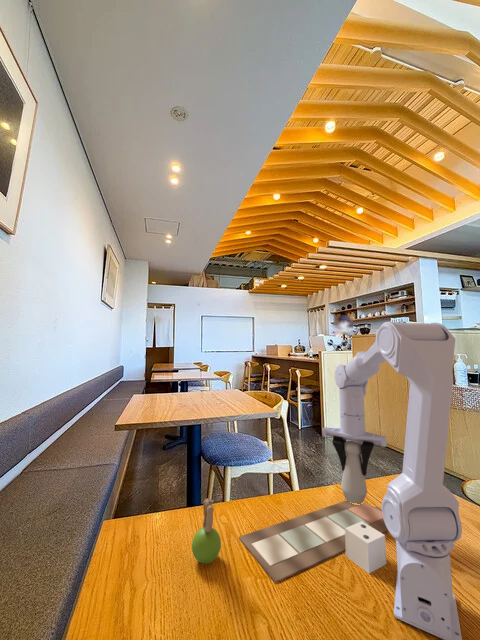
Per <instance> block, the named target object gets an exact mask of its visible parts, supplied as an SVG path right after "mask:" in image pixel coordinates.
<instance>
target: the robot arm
mask: <svg viewBox="0 0 480 640" xmlns="http://www.w3.org/2000/svg"><path fill="white" fill-rule="evenodd" d="M455 347H456V338H455V337H454V336H453V334H452V333H451V331H449V329H448V328H447V327H446V326H445V325H444V324H442V323H440V322H429V323H425V322H424V323H422V322H421V323H420V322H419V323H416V322H393V321H385V322H383V323H382V324H381V325H380V327H379V328H378V329H376V331H375V342H373V344H372V345H371V346H370V347H369V348H368V350H367V351H361V350H360V351H357V352H356V354H355V355H354V356H353V357H352V358H351V360H349V361H348V362H347V363H346V364H344V365H343V364H337V366H336V367H335V370H334V381H335V385H336V386H337V388H339V389H338V391H339V393H338V394H339V418H340V419H339V421H340V428H338V427H337V428H336V427H327V426H324V427H322V429H321V430H322V437H324V438H328V437H329V438H332V440H331V441H332V442H331V443H332V445H333V447H334V449H335V451H336V453H337V456H338V459H339V462H340V465H341V470H342V471H343V472H344V469H345V461H346V455H347V452H345V450H344V443H345V442H346V441H355V442H358V443H361V452H362V454H361V461H362V474H363V475H364V476H365V477H366V476H367V473H368V465H369V460H370V457H371V453H372V451H373V449H374V447H375V445H377V446H378V445H379V446H381V447H383V448H384V447H385V448H386V447H387V445H388V442H387V435H383V434H382V435H381V434H377V433H376V434H375V433H372V432H367V431H366V418H365V417H366V415H365V411H366V410H365V396H366V394H367V387H368V383H369V379H371V378H372V377H374V376H375V375H376V374H378V373H379V372H380V369H381V365H382V364H384V363H385V362H386V361H387V363H389V365H390V366H391V367H392V368H393V369H394V370H395V372H396V373H398V374H401V375H402V376H405V377H406V378H407V380H408V382H409V393H408V403H407V405H408V406H407V417H406V427H405V439H404V450H403V460H402V461H403V462H402V472H401V473H400V474H399V475H398V476H396V477H395V478H393V479H392V480H391V481H389V483H387V486H386V487H387V488H386V492H385V495H384V496H383V499H382V502H381V509H382V515H383V519H384V522H385V525H386V527H387V529H388V531H387V532H389V534H390V535H391V536H392V537H393V539H395V547H396V550H395V551H396V564H397V565H396V566H397V574H396V583H395V585H396V586H395V593H394V594H395V595H394V606H393V607H394V608H393V616H394V617H395V619H398V620H400V621H402V622H404V623H406V624H409V625H411V626H413V627H415V628H417V629H420V630H421V631H424V632H427V633H428V634H431V635H433V636H434V637H437V638H440V639H441V640H463V637H462V632H461V626H460V619H459V612H458V606H457V601H456V600H457V599H456V596H455V594H454V592H453V591H454V590H453V580H452V569H451V567H452V565H451V553H450V552H451V551H454V550H455V542H458V541H459V540H460V539H461V537H462V534H463V526H462V521H461V517H460V512H459V511H460V510H459V508H460V501H459V500H458V499H457V498H456V496H455V495H454V493H453V492H451V490H449V488H448V487H446V486H445V485H444V477H445V476H444V475H445V467H446V459H447V457H446V455H447V447H448V438H449V437H448V436H449V435H448V434H449V425H450V415H451V405H452V397H453V385H454V374H453V373H454V372H453V369H454V368H453V367H454V358H455V349H456V348H455Z"/></svg>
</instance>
